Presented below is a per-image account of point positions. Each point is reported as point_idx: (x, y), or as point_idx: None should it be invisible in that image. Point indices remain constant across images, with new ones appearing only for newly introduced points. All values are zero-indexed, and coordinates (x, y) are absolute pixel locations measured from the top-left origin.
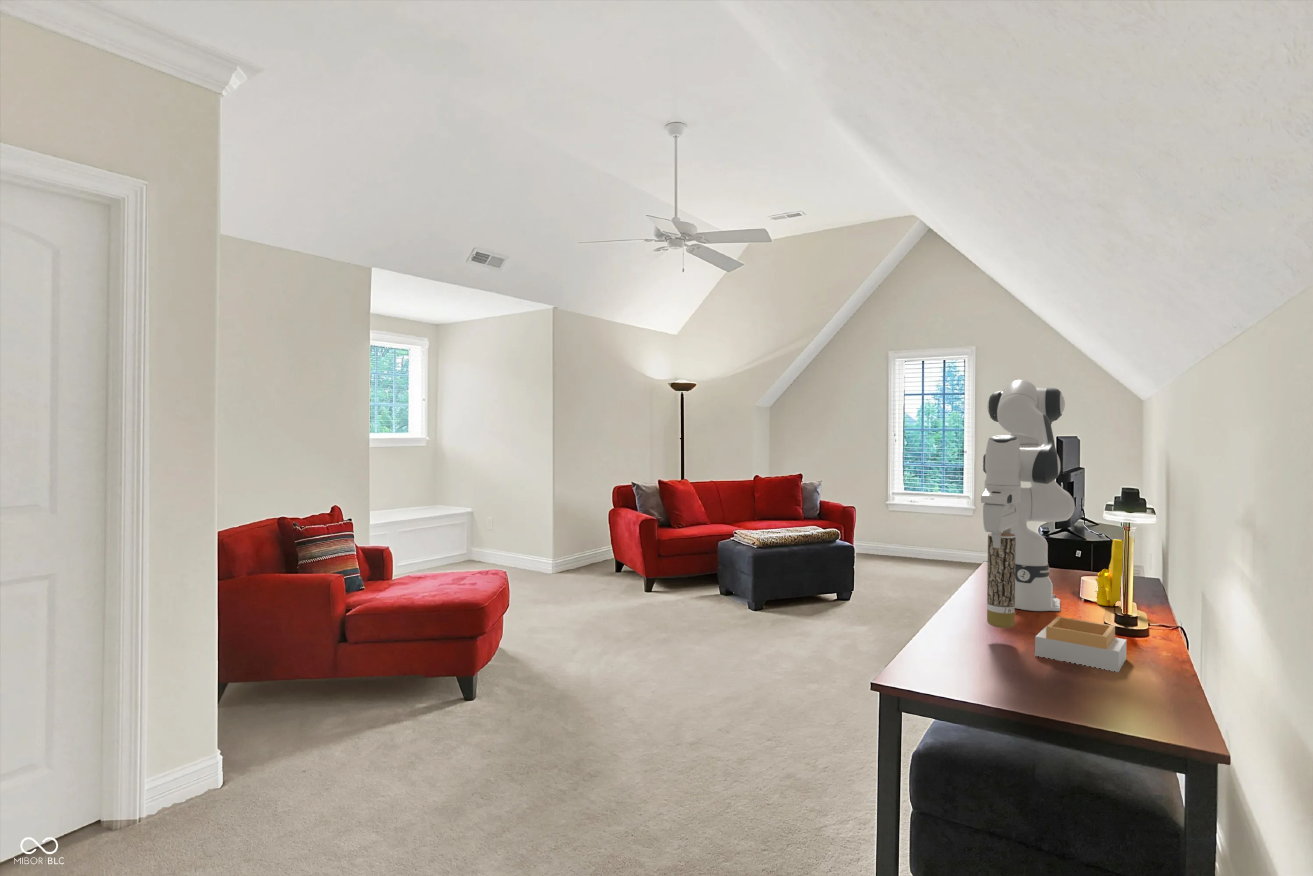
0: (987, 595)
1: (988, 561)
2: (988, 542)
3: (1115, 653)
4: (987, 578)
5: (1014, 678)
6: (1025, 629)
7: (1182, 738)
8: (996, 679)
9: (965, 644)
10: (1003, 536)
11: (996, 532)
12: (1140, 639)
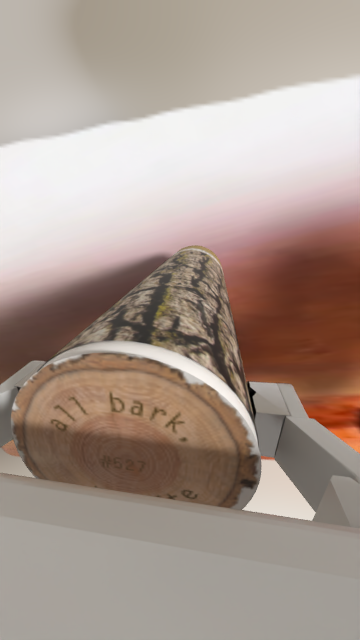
0: (173, 256)
1: (137, 285)
2: (93, 323)
3: None
4: (167, 263)
5: (31, 320)
6: (321, 287)
7: (12, 442)
8: (8, 303)
9: (132, 217)
10: (40, 470)
11: None
12: (349, 432)
